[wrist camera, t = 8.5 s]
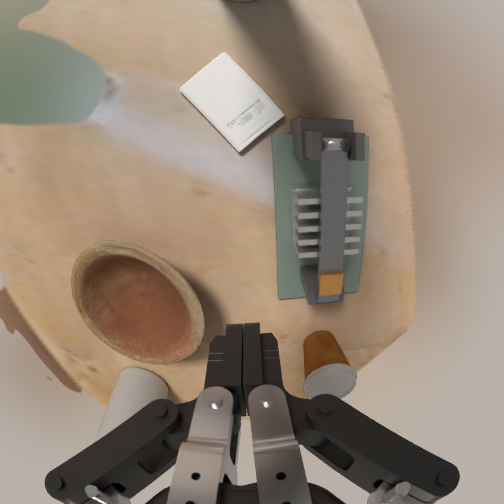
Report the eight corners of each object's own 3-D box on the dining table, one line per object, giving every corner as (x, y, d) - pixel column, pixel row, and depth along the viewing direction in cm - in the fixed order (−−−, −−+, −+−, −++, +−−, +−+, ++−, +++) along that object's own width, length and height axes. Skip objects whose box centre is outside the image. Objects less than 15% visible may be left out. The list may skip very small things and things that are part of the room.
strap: (315, 137, 28) (319, 137, 26) (346, 137, 28) (351, 138, 26) (313, 297, 37) (316, 305, 35) (338, 295, 37) (342, 302, 35)
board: (271, 134, 35) (271, 134, 34) (366, 135, 35) (368, 136, 34) (278, 296, 46) (278, 299, 46) (356, 289, 46) (357, 291, 45)
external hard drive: (225, 54, 30) (283, 115, 34) (180, 91, 33) (238, 152, 37) (224, 51, 29) (285, 115, 33) (177, 89, 31) (238, 153, 35)
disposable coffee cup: (285, 349, 52) (292, 397, 41) (316, 317, 48) (331, 365, 38) (320, 363, 54) (332, 408, 43) (351, 334, 51) (369, 378, 40)
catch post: (299, 263, 44) (309, 292, 36) (329, 261, 44) (344, 289, 36) (298, 274, 44) (308, 304, 37) (328, 272, 44) (342, 300, 37)
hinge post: (290, 120, 34) (307, 116, 24) (335, 120, 34) (366, 119, 24) (292, 155, 36) (309, 165, 26) (336, 154, 36) (367, 165, 26)
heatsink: (288, 182, 38) (298, 196, 31) (341, 181, 38) (363, 195, 30) (289, 235, 41) (298, 260, 34) (339, 232, 41) (358, 255, 34)
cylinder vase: (141, 359, 53) (108, 457, 31) (179, 390, 58) (162, 482, 35) (111, 373, 56) (79, 456, 34) (147, 400, 61) (126, 481, 38)
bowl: (96, 204, 39) (70, 221, 31) (231, 256, 43) (228, 283, 36) (84, 310, 48) (67, 335, 41) (189, 352, 52) (183, 382, 45)
